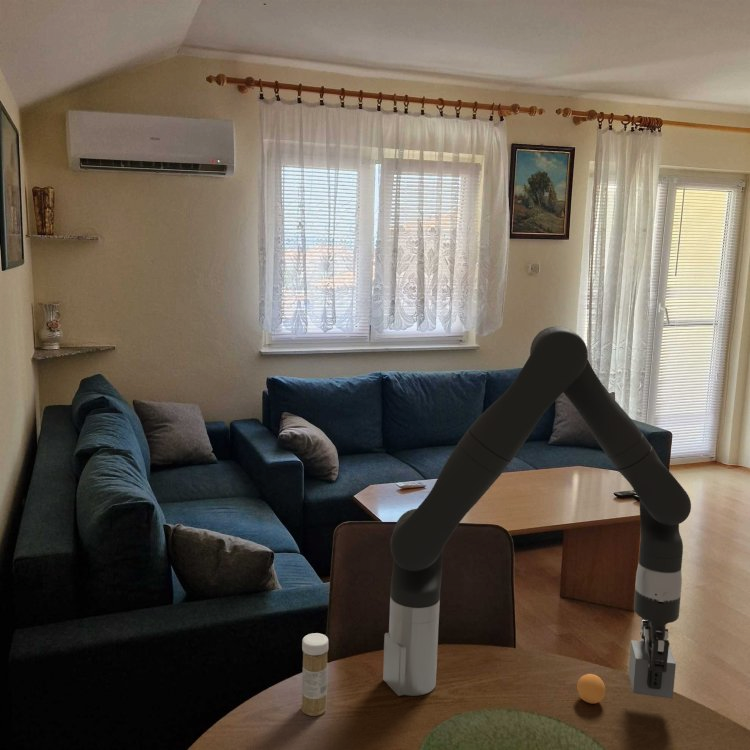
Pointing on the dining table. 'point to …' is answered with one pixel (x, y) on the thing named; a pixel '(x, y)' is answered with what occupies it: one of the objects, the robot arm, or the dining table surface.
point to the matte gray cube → (640, 672)
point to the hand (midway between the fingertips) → (650, 676)
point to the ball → (591, 688)
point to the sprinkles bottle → (314, 674)
